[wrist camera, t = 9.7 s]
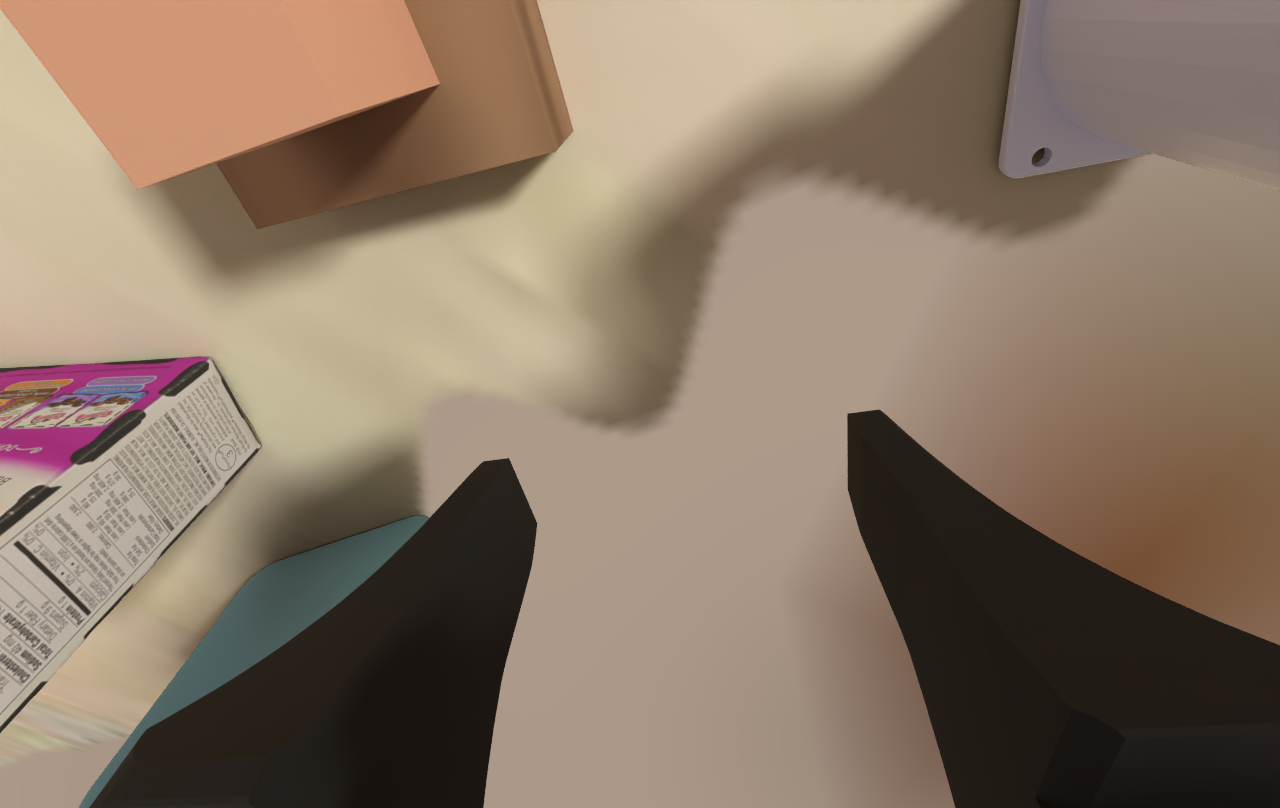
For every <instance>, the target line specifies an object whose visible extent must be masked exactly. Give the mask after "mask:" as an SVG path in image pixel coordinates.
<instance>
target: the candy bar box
mask: <svg viewBox="0 0 1280 808" xmlns="http://www.w3.org/2000/svg"><path fill="white" fill-rule="evenodd" d="M260 448H261V443H260V441H259V438H258V436H257V434H256V433H255V431H254V428H253V426H252V425H251V423H250V421H249V420H248V418H247V417H246V416H245V414H244V413H243V411H242V410H241V408H240V406H239V405H238V403H237V402H236V400H235V398H234V397H233V395H232V393H231V391H230V389H229V387H228V386H227V384H226V382H225V380H224V378H223V376H222V375H221V373H220V372H219V370H218V369H217V367H216V365H215V363H214V362H213V360H212V359H211V358H210V357H189V358H171V359H155V360H142V361H125V362H109V363H95V364H76V365H56V366H38V367H18V368H0V733H1V732H2V730H3V729H4V728H5V727H6V726H7V725H8V724H9V723H10V722H11V721H12V720H13V718H14V717H15V716H16V715H17V714H18V713H19V712H20V711H21V710H22V709H23V708H24V706H25V705H26V704H27V703H28V702H29V701H30V700H31V699H32V698H33V697H34V696H35V695H36V694H37V693H38V692H39V691H40V690H41V689H42V687H43V686H44V685H45V684H46V683H47V682H48V681H49V679H50V678H51V677H52V676H53V675H54V673H55V672H56V671H57V670H58V669H59V668H60V667H61V666H62V665H63V664H64V663H65V662H66V660H67V659H68V658H69V657H70V656H71V655H72V654H73V653H74V652H75V651H76V650H77V648H78V647H79V646H80V645H81V644H82V643H83V642H84V640H85V639H86V638H87V636H88V635H89V634H90V633H91V631H92V630H93V629H94V628H95V627H96V626H97V625H98V624H99V623H100V622H101V621H102V620H103V619H104V618H105V617H106V616H107V615H108V614H109V613H110V612H111V611H112V610H113V608H114V607H115V606H116V605H117V604H118V603H119V602H120V601H121V599H122V598H123V597H124V596H125V595H126V594H127V593H128V592H129V591H130V590H131V589H132V588H133V587H134V586H135V585H136V584H137V583H138V582H139V581H140V580H141V579H142V578H143V577H144V575H145V574H146V573H147V572H148V571H149V570H150V569H151V568H152V567H153V566H154V564H155V563H156V561H157V560H158V559H159V558H160V557H161V556H162V555H163V554H164V553H165V552H166V551H167V549H168V548H169V547H170V546H171V545H172V544H173V543H174V542H175V541H176V540H177V539H178V538H179V537H180V536H181V534H182V533H183V532H184V531H185V530H186V529H187V528H188V527H189V526H190V524H191V523H192V522H193V521H194V520H195V519H196V518H197V517H198V516H199V515H200V514H201V513H202V512H203V511H204V509H205V508H206V507H207V506H208V505H209V504H210V503H211V502H212V501H213V500H214V499H215V498H216V496H217V495H218V494H219V493H220V492H221V491H222V490H223V489H224V487H225V486H226V485H227V484H228V483H229V482H230V481H231V480H232V479H233V478H234V477H235V475H236V474H237V473H238V472H239V471H240V470H241V469H242V468H243V467H244V466H245V465H246V464H247V462H248V461H249V460H250V459H251V458H252V457H253V456H254V455H255V454H256V453H257V452H258V451H259V449H260Z"/></svg>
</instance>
